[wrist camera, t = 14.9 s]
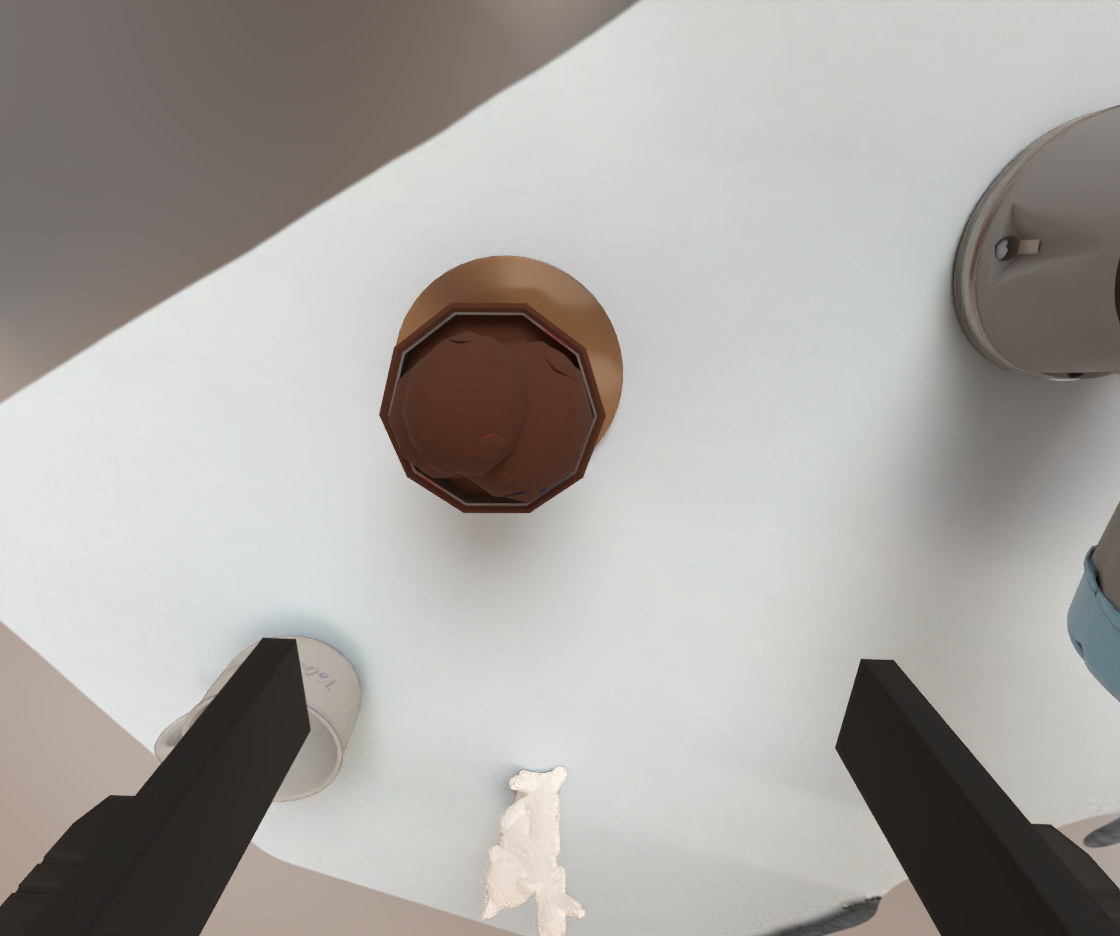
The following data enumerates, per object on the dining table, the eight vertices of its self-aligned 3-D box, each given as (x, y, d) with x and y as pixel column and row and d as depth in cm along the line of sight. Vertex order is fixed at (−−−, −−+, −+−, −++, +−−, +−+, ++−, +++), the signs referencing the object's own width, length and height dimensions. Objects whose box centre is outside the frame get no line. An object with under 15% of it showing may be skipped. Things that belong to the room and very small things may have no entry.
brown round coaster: (507, 200, 32) (506, 198, 32) (667, 379, 36) (669, 381, 35) (349, 373, 36) (346, 374, 35) (511, 519, 40) (510, 523, 39)
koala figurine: (568, 748, 48) (572, 897, 36) (591, 799, 50) (601, 955, 39) (479, 771, 48) (456, 923, 37) (506, 820, 51) (491, 978, 39)
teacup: (369, 618, 43) (329, 693, 35) (380, 723, 46) (347, 811, 39) (191, 613, 42) (112, 688, 35) (217, 719, 46) (151, 807, 39)
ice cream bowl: (410, 430, 36) (319, 534, 22) (450, 264, 33) (373, 263, 19) (558, 476, 38) (560, 601, 24) (613, 321, 34) (654, 359, 20)
